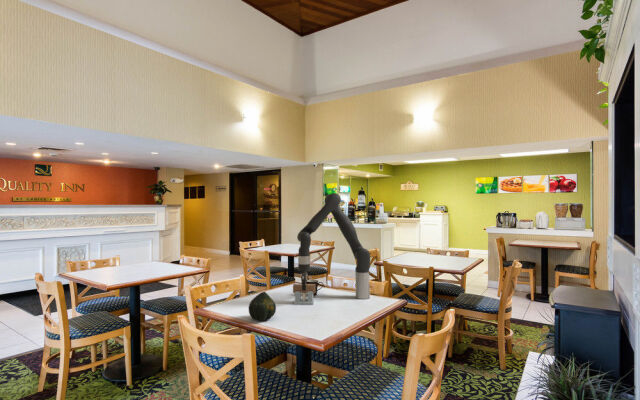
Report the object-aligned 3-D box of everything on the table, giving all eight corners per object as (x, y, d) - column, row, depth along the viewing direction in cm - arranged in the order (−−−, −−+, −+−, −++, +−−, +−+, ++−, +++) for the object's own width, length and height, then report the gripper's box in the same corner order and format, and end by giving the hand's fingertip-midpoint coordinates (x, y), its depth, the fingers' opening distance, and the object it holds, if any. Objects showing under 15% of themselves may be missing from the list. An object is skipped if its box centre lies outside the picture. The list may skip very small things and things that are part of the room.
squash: (251, 315, 184) (268, 290, 190) (239, 310, 196) (255, 286, 202) (270, 329, 189) (285, 305, 196) (257, 323, 201) (272, 300, 208)
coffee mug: (304, 296, 245) (304, 281, 246) (308, 293, 254) (308, 279, 254) (320, 297, 242) (320, 282, 242) (324, 294, 250) (323, 280, 251)
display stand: (314, 300, 233) (314, 288, 233) (313, 304, 223) (313, 292, 223) (295, 300, 233) (295, 288, 234) (294, 304, 223) (294, 292, 224)
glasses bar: (315, 291, 230) (315, 284, 230) (314, 293, 226) (314, 285, 227) (293, 291, 230) (293, 284, 230) (293, 293, 227) (292, 285, 227)
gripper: (309, 264, 222) (309, 292, 221) (310, 261, 236) (310, 287, 235) (297, 264, 222) (297, 292, 222) (299, 261, 236) (299, 287, 236)
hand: (304, 289), depth 228 cm, fingers closed on glasses bar, 3 cm apart
